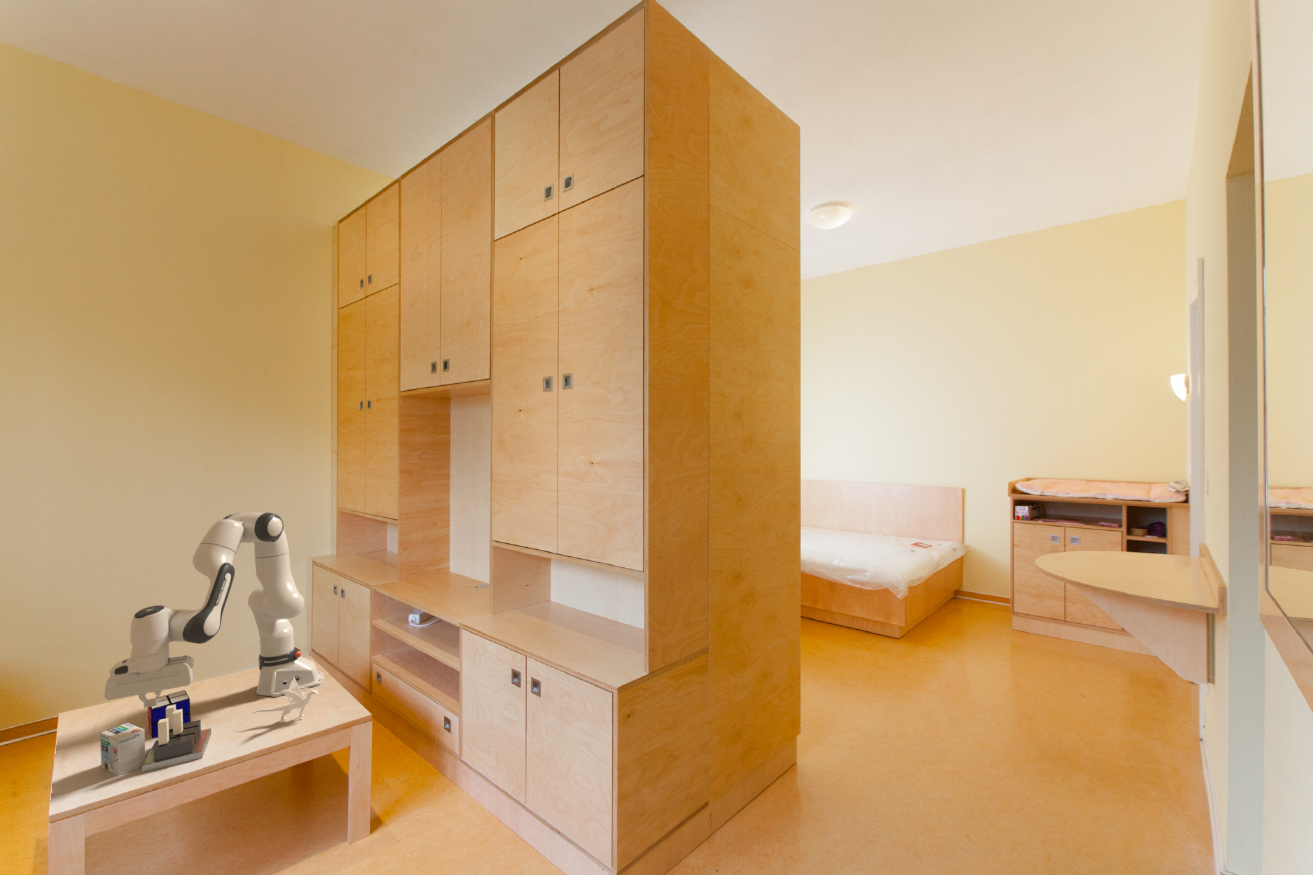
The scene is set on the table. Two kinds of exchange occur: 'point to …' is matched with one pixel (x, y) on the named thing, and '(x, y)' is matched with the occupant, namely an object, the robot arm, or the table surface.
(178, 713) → the handle
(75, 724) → the table surface
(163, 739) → the handle
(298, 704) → the dragon
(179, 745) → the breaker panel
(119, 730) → the light bulb box
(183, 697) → the puzzle cube
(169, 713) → the handle
